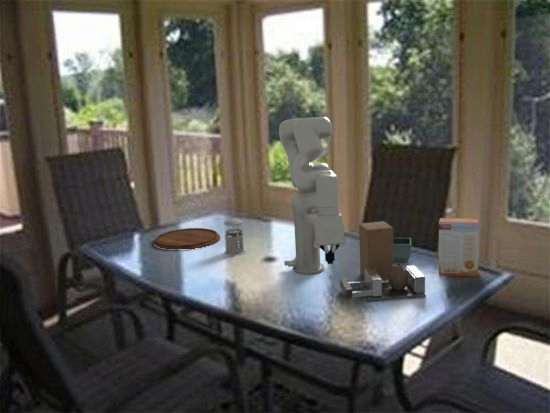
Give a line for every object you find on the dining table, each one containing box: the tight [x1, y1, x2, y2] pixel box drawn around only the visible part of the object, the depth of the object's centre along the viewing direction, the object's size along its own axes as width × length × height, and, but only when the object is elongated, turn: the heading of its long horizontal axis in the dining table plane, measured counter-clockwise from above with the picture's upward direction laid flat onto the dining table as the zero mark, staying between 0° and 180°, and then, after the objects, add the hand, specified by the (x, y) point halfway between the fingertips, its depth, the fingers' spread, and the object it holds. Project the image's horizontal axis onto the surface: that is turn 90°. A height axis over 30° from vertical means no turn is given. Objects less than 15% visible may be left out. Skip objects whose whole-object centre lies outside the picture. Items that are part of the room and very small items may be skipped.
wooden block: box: [358, 220, 394, 281], centre depth 227 cm, size 10×10×20 cm
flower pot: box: [393, 237, 412, 265], centre depth 243 cm, size 9×9×9 cm
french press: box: [223, 196, 247, 257], centre depth 267 cm, size 10×12×25 cm
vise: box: [358, 264, 427, 303], centre depth 212 cm, size 20×14×7 cm
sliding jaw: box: [339, 268, 383, 299], centre depth 212 cm, size 12×12×6 cm
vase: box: [387, 264, 408, 290], centre depth 212 cm, size 7×7×9 cm
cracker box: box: [438, 217, 480, 278], centre depth 226 cm, size 14×6×21 cm, turn 71°
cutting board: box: [153, 227, 221, 250], centre depth 291 cm, size 32×32×3 cm
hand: (330, 262), depth 208 cm, fingers closed
